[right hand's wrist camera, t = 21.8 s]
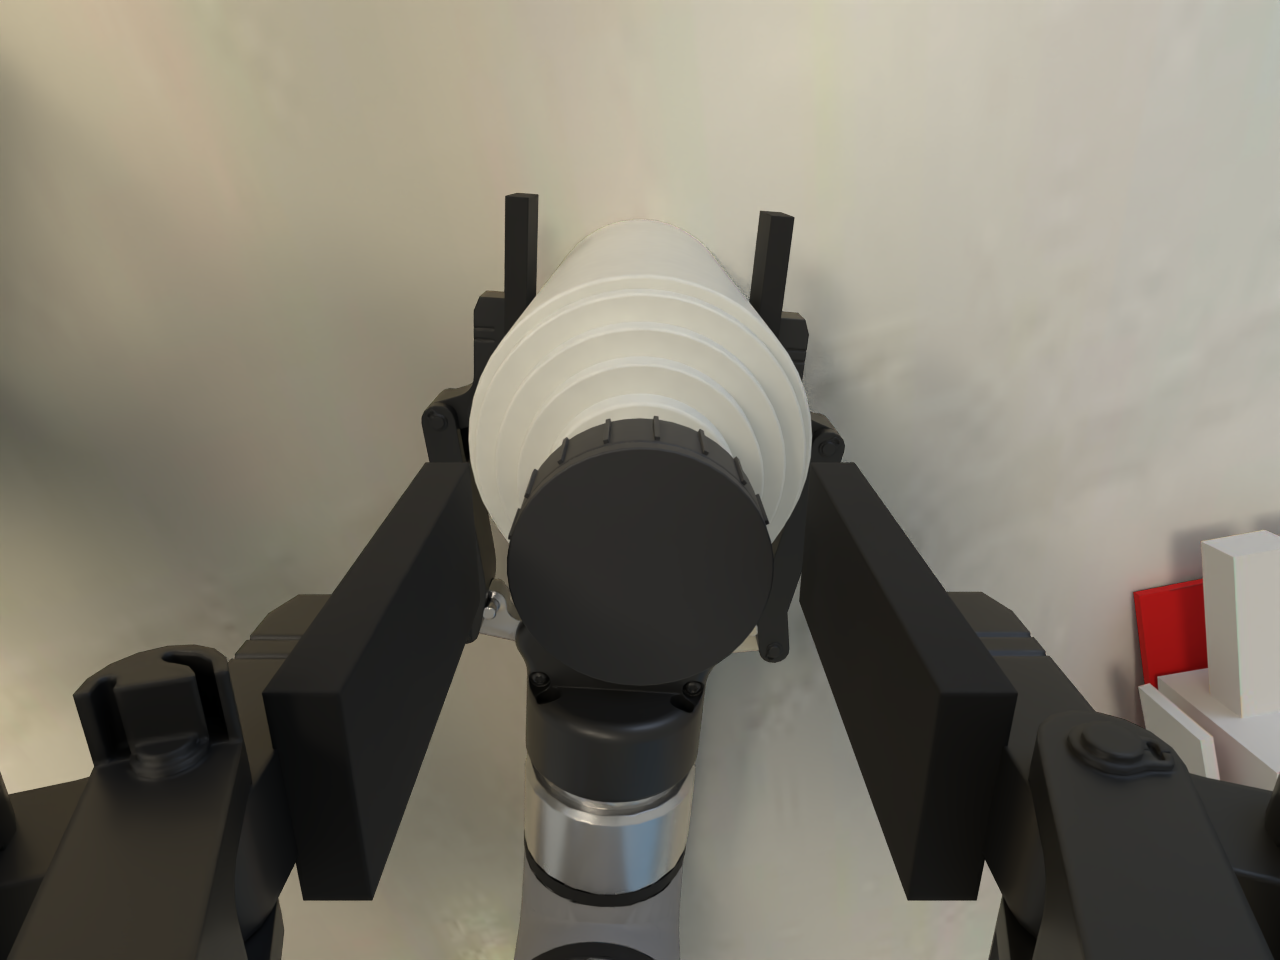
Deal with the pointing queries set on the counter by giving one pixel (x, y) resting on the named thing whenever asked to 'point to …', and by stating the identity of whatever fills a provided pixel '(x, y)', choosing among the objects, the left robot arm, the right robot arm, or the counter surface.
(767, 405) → the bottle
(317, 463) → the counter surface
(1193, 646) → the toy
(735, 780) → the counter surface
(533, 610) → the cap
